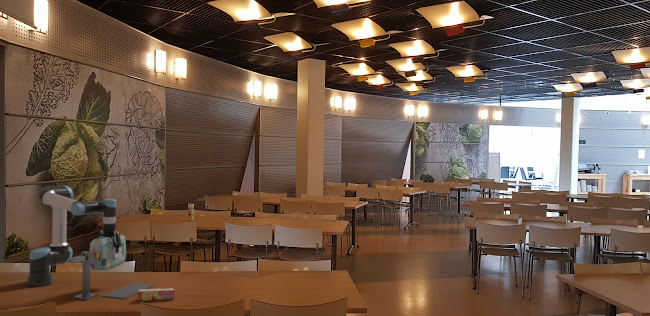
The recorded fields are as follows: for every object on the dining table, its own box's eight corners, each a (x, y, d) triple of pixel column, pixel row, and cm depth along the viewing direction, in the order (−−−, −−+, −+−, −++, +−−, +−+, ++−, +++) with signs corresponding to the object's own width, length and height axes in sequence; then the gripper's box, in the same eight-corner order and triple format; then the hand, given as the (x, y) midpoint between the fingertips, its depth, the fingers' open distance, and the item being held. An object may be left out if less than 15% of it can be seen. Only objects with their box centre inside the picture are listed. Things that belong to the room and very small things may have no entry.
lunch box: (101, 273, 296) (102, 238, 296) (86, 271, 298) (87, 237, 298) (127, 263, 322) (128, 232, 322) (114, 262, 324) (115, 231, 324)
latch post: (72, 298, 287) (73, 252, 287) (84, 294, 296) (85, 249, 296) (86, 300, 284) (87, 254, 284) (98, 295, 294) (99, 250, 294)
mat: (101, 296, 292) (101, 295, 292) (134, 283, 323) (134, 282, 323) (124, 298, 289) (124, 297, 289) (155, 285, 320) (155, 284, 320)
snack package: (174, 297, 295) (174, 286, 295) (174, 300, 288) (174, 289, 288) (137, 299, 289) (137, 288, 289) (136, 302, 282) (136, 291, 282)
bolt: (68, 263, 280) (68, 257, 280) (90, 256, 298) (90, 251, 298) (77, 263, 279) (77, 258, 279) (98, 257, 296) (98, 252, 296)
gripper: (90, 222, 309) (89, 256, 309) (120, 224, 303) (119, 259, 304) (98, 221, 316) (97, 254, 316) (128, 223, 311) (127, 257, 311)
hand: (108, 257), depth 310 cm, fingers closed on lunch box, 10 cm apart
